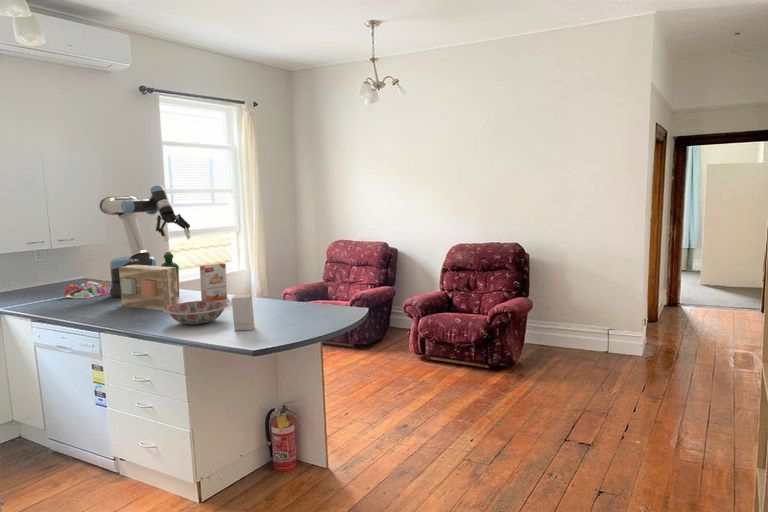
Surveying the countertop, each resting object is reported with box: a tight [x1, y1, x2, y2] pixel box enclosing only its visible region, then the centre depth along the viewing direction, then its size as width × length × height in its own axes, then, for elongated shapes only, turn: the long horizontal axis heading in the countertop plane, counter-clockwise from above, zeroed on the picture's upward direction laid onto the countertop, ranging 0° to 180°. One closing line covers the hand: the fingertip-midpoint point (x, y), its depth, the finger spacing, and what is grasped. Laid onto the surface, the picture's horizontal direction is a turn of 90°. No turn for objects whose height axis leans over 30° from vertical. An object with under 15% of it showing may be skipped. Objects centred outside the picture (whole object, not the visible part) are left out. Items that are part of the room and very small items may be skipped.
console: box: [119, 265, 180, 311], centre depth 316 cm, size 10×34×22 cm, turn 62°
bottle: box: [160, 250, 180, 298], centre depth 337 cm, size 11×11×28 cm
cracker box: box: [199, 262, 228, 301], centre depth 330 cm, size 14×6×21 cm, turn 140°
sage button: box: [121, 278, 136, 294], centre depth 314 cm, size 3×8×8 cm, turn 62°
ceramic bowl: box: [164, 300, 229, 325], centre depth 275 cm, size 29×29×8 cm
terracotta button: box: [141, 280, 157, 296], centre depth 306 cm, size 3×8×8 cm, turn 62°
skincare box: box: [231, 294, 255, 331], centre depth 259 cm, size 8×7×16 cm
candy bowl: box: [63, 279, 111, 299], centre depth 356 cm, size 25×24×9 cm
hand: (178, 239), depth 326 cm, fingers open, 13 cm apart
